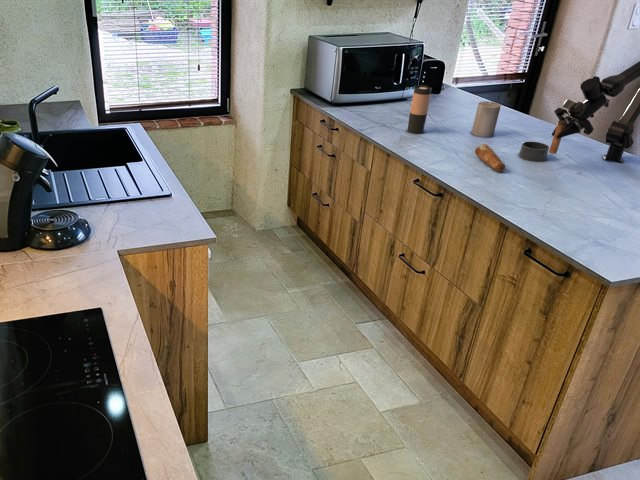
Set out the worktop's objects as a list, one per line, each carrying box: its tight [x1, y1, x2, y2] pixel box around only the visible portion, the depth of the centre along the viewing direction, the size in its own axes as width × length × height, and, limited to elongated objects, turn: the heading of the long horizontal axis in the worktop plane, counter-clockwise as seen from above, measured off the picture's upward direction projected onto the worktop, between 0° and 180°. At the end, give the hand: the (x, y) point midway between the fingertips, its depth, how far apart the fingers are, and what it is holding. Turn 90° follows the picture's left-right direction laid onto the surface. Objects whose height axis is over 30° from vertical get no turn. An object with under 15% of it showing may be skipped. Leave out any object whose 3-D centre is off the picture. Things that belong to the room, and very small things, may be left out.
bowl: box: [518, 141, 550, 162], centre depth 247 cm, size 10×10×5 cm
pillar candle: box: [471, 100, 502, 138], centre depth 269 cm, size 10×10×15 cm
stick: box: [548, 119, 566, 155], centre depth 232 cm, size 3×3×12 cm
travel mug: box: [407, 84, 432, 135], centre depth 270 cm, size 8×8×20 cm
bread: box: [474, 143, 506, 173], centre depth 238 cm, size 6×19×6 cm, turn 3°
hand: (554, 136), depth 232 cm, fingers closed on stick, 3 cm apart
